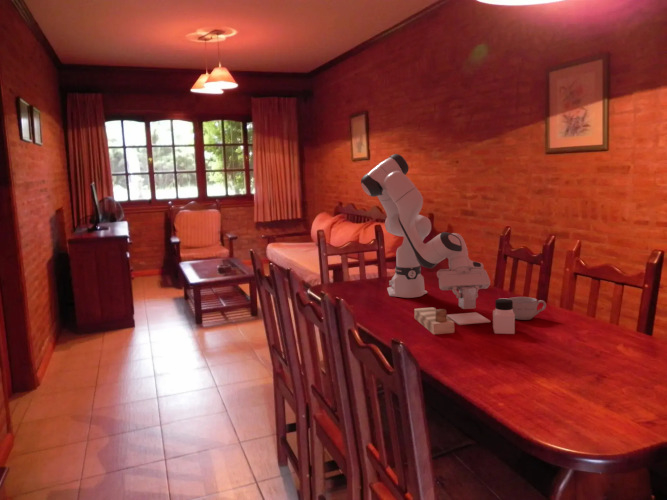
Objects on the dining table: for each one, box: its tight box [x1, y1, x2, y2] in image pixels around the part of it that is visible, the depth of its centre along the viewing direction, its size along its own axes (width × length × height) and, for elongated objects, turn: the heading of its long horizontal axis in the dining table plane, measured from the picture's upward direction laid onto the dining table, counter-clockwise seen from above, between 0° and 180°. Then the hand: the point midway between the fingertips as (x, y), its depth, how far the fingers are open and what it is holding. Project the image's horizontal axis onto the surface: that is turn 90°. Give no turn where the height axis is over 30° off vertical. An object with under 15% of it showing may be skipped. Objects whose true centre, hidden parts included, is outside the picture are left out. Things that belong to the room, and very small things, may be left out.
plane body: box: [413, 306, 455, 335], centre depth 207 cm, size 22×8×8 cm, turn 10°
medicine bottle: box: [492, 297, 516, 335], centre depth 196 cm, size 7×7×12 cm
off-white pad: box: [446, 311, 491, 326], centre depth 214 cm, size 13×13×1 cm
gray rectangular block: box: [458, 286, 477, 310], centre depth 212 cm, size 5×5×8 cm
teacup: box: [508, 296, 547, 321], centre depth 211 cm, size 14×11×8 cm
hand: (467, 297), depth 212 cm, fingers closed on gray rectangular block, 5 cm apart
